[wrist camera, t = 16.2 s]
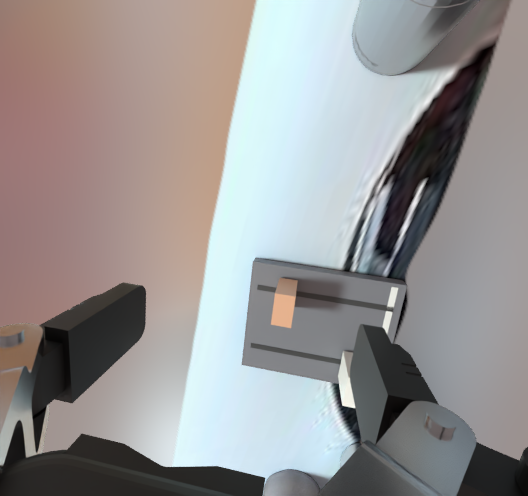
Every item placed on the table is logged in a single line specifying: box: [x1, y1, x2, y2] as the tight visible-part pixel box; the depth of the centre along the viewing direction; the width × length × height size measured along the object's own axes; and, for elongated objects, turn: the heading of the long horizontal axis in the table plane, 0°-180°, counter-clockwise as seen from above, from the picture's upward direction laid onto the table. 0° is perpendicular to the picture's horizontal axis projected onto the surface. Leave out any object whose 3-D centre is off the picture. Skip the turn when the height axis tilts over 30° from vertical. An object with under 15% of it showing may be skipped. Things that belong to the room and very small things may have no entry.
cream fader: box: [338, 351, 355, 408], centre depth 38 cm, size 2×4×6 cm, turn 173°
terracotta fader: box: [271, 278, 298, 328], centre depth 37 cm, size 2×4×6 cm, turn 173°
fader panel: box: [242, 258, 407, 384], centre depth 42 cm, size 20×16×2 cm
